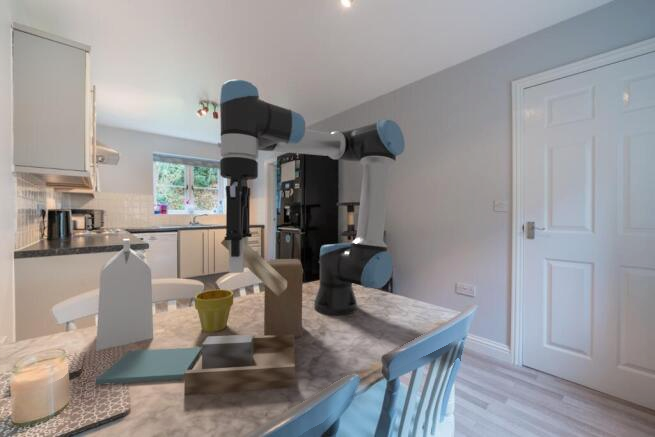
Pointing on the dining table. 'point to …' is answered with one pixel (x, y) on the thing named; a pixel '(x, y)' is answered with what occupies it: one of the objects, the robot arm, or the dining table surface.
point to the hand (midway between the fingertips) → (239, 269)
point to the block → (284, 300)
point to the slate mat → (151, 365)
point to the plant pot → (214, 308)
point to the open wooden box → (243, 364)
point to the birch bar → (261, 269)
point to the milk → (125, 300)
